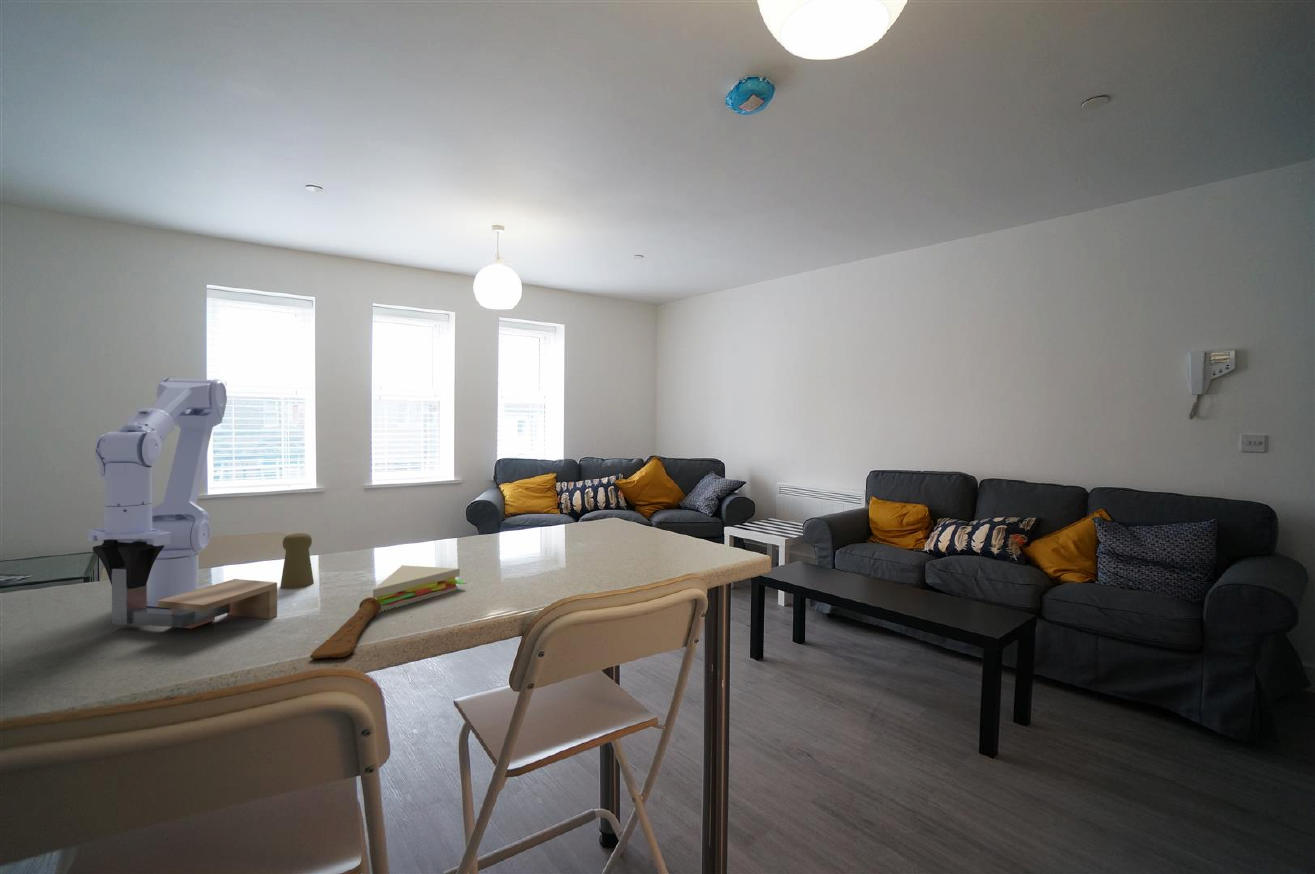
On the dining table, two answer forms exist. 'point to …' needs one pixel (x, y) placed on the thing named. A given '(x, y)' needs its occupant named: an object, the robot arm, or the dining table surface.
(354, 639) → the primitive tool
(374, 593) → the sandwich
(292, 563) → the cork
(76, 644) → the dining table surface
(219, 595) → the cubby
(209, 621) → the cube
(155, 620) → the grey angled block
